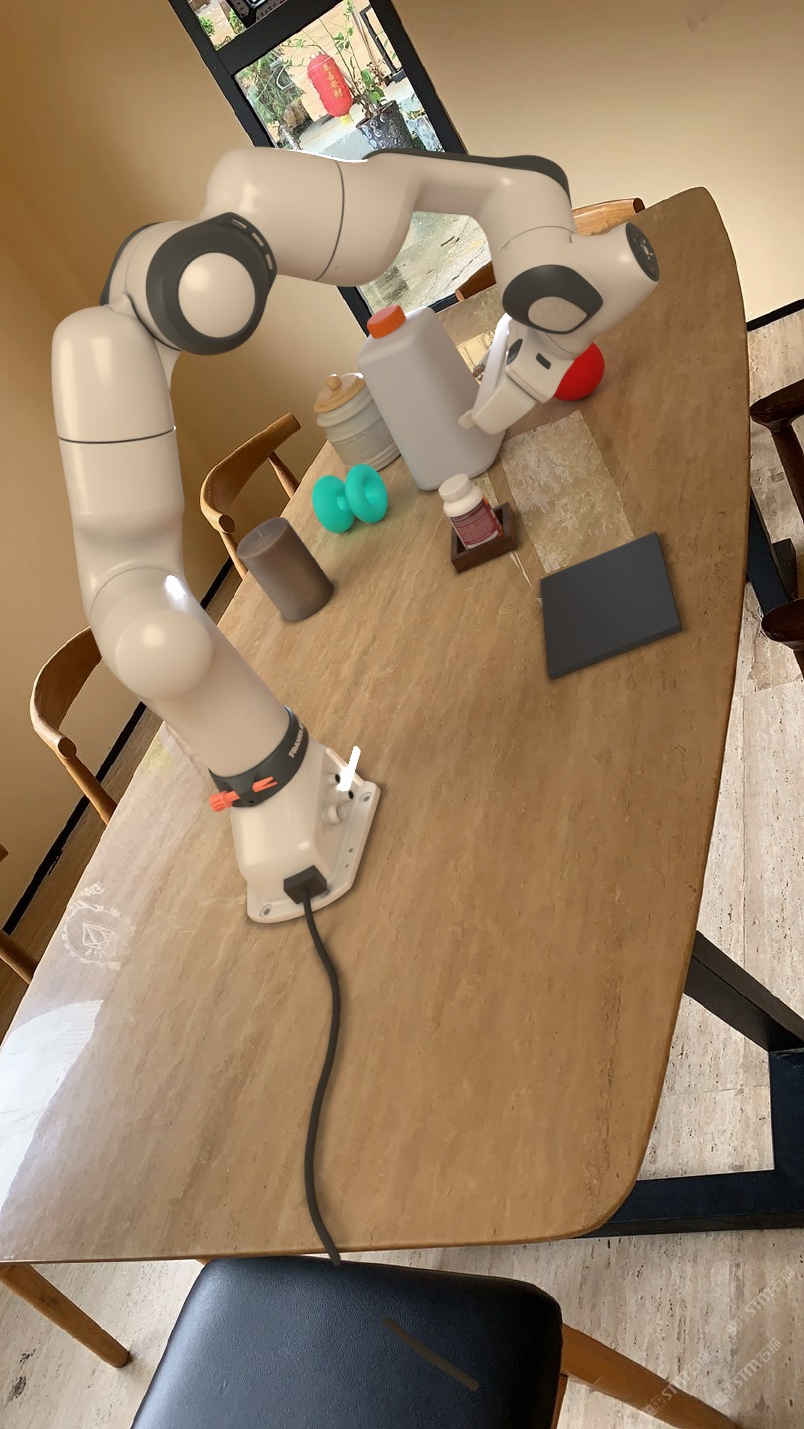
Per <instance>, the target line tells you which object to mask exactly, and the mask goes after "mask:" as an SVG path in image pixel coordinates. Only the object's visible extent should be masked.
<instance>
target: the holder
mask: <svg viewBox="0 0 804 1429" xmlns="http://www.w3.org/2000/svg"><path fill="white" fill-rule="evenodd" d="M492 510H493V511H494V513H495V515H496V517H497V519H498V520H499V522H500V524H501V525H502V528H503V532H504V534H503V535H501V536H498V537H496V538H494V539H491V540H489V541H487V542H485V543H482V544H480V545H478V546H475V547H473V548H471V549H469V550H466V549H465V547H464V545H463V543H462V542H461V540H460V538H459V537H458V535H457V533H456V531H455V530H454V528H453V526H451V534H450V537H451V538H450V563H451V564H452V566H453V567H454V569H455V571H456V572H457V574H459V575H460V574H461V573H464V572H466V571H468V570H471V569H473V568H476V567H477V566H480V565H483V564H485V563H487V562H489V561H492V560H494V559H497V558H498V557H501V556H504V555H507V554H508V553H511V552H512V551H515V550H517V549H518V536H517V535H518V534H517V522H516V520H517V518H516V513H515V512H514V510H513V507H512V506H511V504H510V502H509V501H506V502H504V503H502V504H500V505H498V506H495V507H493V508H492Z"/></svg>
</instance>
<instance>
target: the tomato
mask: <svg viewBox="0 0 804 1429" xmlns="http://www.w3.org/2000/svg"><path fill="white" fill-rule="evenodd" d="M605 369H606V363H605V358H604V355H603V353H602V351H601V349H600V348H599V347H598V345H597V344H596V343H595V342H594V341H593V342H592V343H591V345H590V346H589V348H588V349H587V350H586V351H584V352H583V353H582V354H581V355H579V356H578V357H577V358H576V359H574V363H573V364H572V365H571V366H570V368H569V369H568V370H567V372H566V373H565V375H564V376H563V378H562V380H561V382H560V384H559V386H558V388H557V390H556V392H555V394H554V395H553V397H554V398H555V399H557V400H560V401H564V402H566V401H567V402H572V401H578V400H581V399H583V398H585V397H588V396H589V395H590V394H592V393H593V392H594V391H595V390H596V389H597V388H598V386H599V384H601V382H602V379H603V378H604V373H605ZM553 397H552V398H553Z"/></svg>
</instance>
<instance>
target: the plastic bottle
mask: <svg viewBox="0 0 804 1429" xmlns="http://www.w3.org/2000/svg"><path fill="white" fill-rule="evenodd" d="M366 329H367V330H368V332H369V335H368V337H367V338H366V339H365V341H364V343H363V344H362V346H361V348H360V350H359V352H358V354H357V356H356V359H355V363H356V367H357V369H358V370H359V374H361V375H362V377H363V379H364V381H365V383H366V385H367V387H368V389H369V391H370V393H371V395H372V397H373V399H374V401H375V403H376V405H377V407H378V409H379V411H380V413H381V415H382V417H383V419H384V421H385V423H386V425H387V427H388V429H389V431H390V433H391V435H392V437H393V439H394V441H395V443H396V445H397V447H398V449H399V451H400V455H401V457H402V460H403V461H404V463H405V465H406V467H407V469H408V471H409V473H410V475H411V477H412V479H413V481H414V482H415V485H416V486H417V487H418V488H419V489H421V490H422V491H427V492H431V491H436V490H439V488H440V486H441V485H442V484H443V483H444V482H445V481H446V480H448V479H449V478H451V477H453V476H455V475H458V474H466V475H467V476H468V477H469V479H470V480H471V479H475V478H476V477H478V476H480V475H482V474H483V473H485V472H486V471H487V470H488V469H489V468H490V467H491V466H492V465H493V464H494V463H495V460H496V458H497V456H498V453H499V451H500V448H501V445H502V443H503V441H504V438H505V436H506V429H505V430H503V431H502V432H500V433H499V434H496V435H489V434H487V433H486V432H485V431H483V430H482V429H481V428H480V427H478V426H477V425H476V424H475V425H474V426H472V427H471V428H470V429H465V428H463V427H462V426H461V425H460V424H459V423H458V420H459V417H460V414H461V413H462V412H463V411H464V410H465V409H466V408H469V409H473V407H474V405H475V402H476V399H477V395H478V392H479V388H480V385H481V384H479V382H478V380H477V378H476V377H474V376H473V375H472V374H473V371H472V370H471V369H470V367H469V366H468V364H467V363H466V362H467V361H465V359H464V358H463V356H462V354H461V352H460V351H459V349H458V348H457V346H456V344H455V343H454V341H453V339H452V337H451V336H450V335H449V333H448V331H447V330H446V328H445V326H444V325H443V323H442V322H441V320H440V318H439V316H438V315H437V313H436V311H435V310H434V309H433V308H431V307H428V306H422V307H421V306H420V307H419V308H415V309H413V310H410V311H408V312H406V313H405V312H404V310H403V309H402V306H401V305H399V304H395V303H394V304H390V305H387V306H385V307H384V308H381V309H380V310H378V311H377V312H376V313H374V314H373V315H372V316H371V317H370V318H369V319H368V320H367V323H366Z"/></svg>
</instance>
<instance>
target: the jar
mask: <svg viewBox="0 0 804 1429" xmlns="http://www.w3.org/2000/svg"><path fill="white" fill-rule="evenodd" d="M325 382H326V386H325V387H324V388H322V389H321V390H320V392H319V393H318V395H317V396H316V401H315V402H314V405H313V411H314V412H315V413H317V416H316V421H315V422H316V425H317V426H319V427H321V428H323V429H324V432H325V438H326V440H327V441H328V442H329V443H330V445H331V446H332V448H333V449H334V452H336V454H337V456H338V457H339V459H340V461H341V462H342V465H343V467H344V468H345V470H346V471H347V472H349V470H350V469H351V468H352V467H354V466H355V465H358V464H366V465H369V466H371V467H372V468H374V469H375V470H376V471H377V472H378V471H380V470H382V469H383V468H385V467H386V466H388V465H390V463H392V462H393V461H395V459H397V458H398V457H399V456H400V455H401V453H400V451H399V449H398V447H397V445H396V443H395V441H394V439H393V437H392V435H391V433H390V431H389V429H388V427H387V425H386V423H385V421H384V419H383V417H382V415H381V413H380V411H379V409H378V407H377V405H376V403H375V401H374V399H373V397H372V395H371V393H370V391H369V389H368V387H367V385H366V383H365V381H364V379H363V377H362V375H361V373H355V372H354V373H353V372H351V373H347V374H343V375H342V376H340V377H339V375H337V374H330V375H329V376H328V377H327V378H326V381H325Z"/></svg>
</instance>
